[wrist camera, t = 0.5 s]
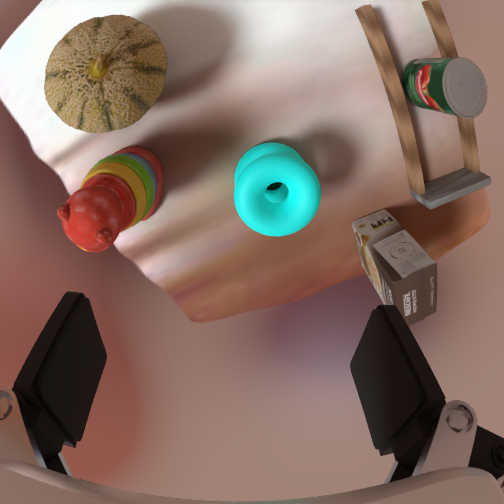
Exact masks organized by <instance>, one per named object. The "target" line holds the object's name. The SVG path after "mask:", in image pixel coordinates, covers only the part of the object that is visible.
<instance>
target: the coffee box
mask: <svg viewBox="0 0 504 504" xmlns="http://www.w3.org/2000/svg"><path fill="white" fill-rule="evenodd" d="M352 227H353V230H354V234H355V238H356V242H357V246H358V251H359V255H360V259H361V264H362V267H363V268H364V270H365V272H366V273H367V275H368V277H369V278H370V280H371V282H372V284H373V285H374V287H375V289H376V290H377V292H378V294H379V296H380V297H381V299H382V300H383V303H384V305H396V307H397V308H398V310H399V311H400V313H401V315H402V317H403V318H404V320H405V322H406V324H407V325H408V326H409V325H412V324H414V323H416V322H419V321H421V320H423V319H424V318H425V317H427V316H429V315H431V314H433V313H435V312H436V300H437V299H436V298H437V263H436V262H435V261H434V260H433V259H432V258H431V257H430V256H429V254H428V253H427V252H426V251H425V250H424V249H423V248H422V247H421V246H420V245H419V244H418V242H417V241H416V240H415V239H414V238H413V237H412V236H411V235H410V234H409V233H408V232H407V231H406V230H405V229H404V228H403V227H402V226H401V225H400V224H399V223H398V222H397V221H396V220H395V219H394V218H393V217H392V216H391V215H390V214H389V213H388V212H387V211H386V210H385V209H383V210H380V211H378V212H375V213H373V214H370V215H368V216H365V217H363V218H360V219H358V220H355V221H353V222H352Z"/></svg>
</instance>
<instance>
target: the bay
mask: <svg viewBox="0 0 504 504" xmlns="http://www.w3.org/2000/svg"><path fill="white" fill-rule="evenodd" d="M421 3H422V5H423V7H424V10H425V12H426V14H427V17H428V20H429V22H430V25H431V27H432V30H433V33H434V36H435V38H436V41H437V44H438V47H439V50H440V53H441V56H442V58H459V57H458V54H457V51H456V48H455V45H454V42H453V39H452V35H451V33H450V30H449V27H448V25H447V21H446V19H445V16H444V14H443V11H442V9H441V6H440V4H439V1H438V0H427V1H424V2H421ZM355 11H356V14H357V16H358V18H359V20H360V23H361V25H362V27H363V30H364V32H365V34H366V37H367V39H368V42H369V44H370V47H371V49H372V52H373V55H374V57H375V60H376V63H377V66H378V68H379V71H380V74H381V77H382V80H383V83H384V86H385V89H386V92H387V95H388V99H389V102H390V105H391V109H392V112H393V116H394V119H395V123H396V127H397V131H398V135H399V139H400V143H401V147H402V151H403V156H404V160H405V165H406V170H407V175H408V180H409V185H410V190H411V195H412V196H413V197H414V198H415V199H417V200H418V201H419V202H421V203H422V204H423V205H425V206H426V207H427V208H428V209H430V210H431V209H434V208H436V207H438V206H441V205H443V204H446V203H448V202H450V201H453V200H455V199H457V198H460V197H462V196H464V195H467V194H469V193H472V192H474V191H476V190H479V189H481V188H483V187H485V186H488V185H490V184H491V177H489V176H487V175H485V174H484V173H482V172H480V168H479V159H478V150H477V142H476V135H475V128H474V122H473V118H471V119H466V118H462V117H460V116H457V120H458V126H459V131H460V137H461V143H462V150H463V157H464V166H465V168H463V169H461V170H458V171H455V172H453V173H450V174H448V175H445V176H442V177H440V178H437V179H434V180H432V181H429V182H427V183H424V180H423V174H422V169H421V163H420V158H419V153H418V148H417V144H416V139H415V135H414V130H413V126H412V122H411V118H410V114H409V110H408V107H407V103H406V100H405V96H404V93H403V89H402V86H401V83H400V80H399V77H398V73H397V70H396V67H395V65H394V62H393V59H392V56H391V53H390V50H389V48H388V45H387V42H386V40H385V37H384V35H383V32H382V30H381V27H380V25H379V23H378V20H377V18H376V16H375V13H374V11H373V9H372V7H371V5H364V6H361V7H360V8H358V9H356V10H355Z"/></svg>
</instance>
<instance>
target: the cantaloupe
mask: <svg viewBox="0 0 504 504" xmlns="http://www.w3.org/2000/svg"><path fill="white" fill-rule="evenodd" d="M166 70H167V57H166V51H165V49H164V47H163V45H162V44H161V41H160V39H159V37H158V36H157V34H156V33H155V32H154V31H153V30H152V29H151V28H150V27H149V26H147V25H144V24H142V23H141V22H139V21H138V20H136V19H134V18H132V17H130V16H125V15H109V16H105V17H94V18H92V19H89V20H87V21H84V22H83V23H80V24H78V25H77V26H75V27H74V28H73V29H71V30H70V31H69V32H68V33H67V34H66V35H65V36H64V37H63V39H62V40H60V41H59V42H58V43H57V45H56V46H55V47H54V49H53V51H52V53H51V55H50V57H49V59H48V63H47V66H46V71H45V73H46V76H45V84H44V90H45V96H46V100H47V102H48V105H49V106H50V108H51V109H52V111H53V112H54V113H56V114H57V115H58V117H59V118H60V119H61V120H62V121H63V122H65V123H66V124H68V125H69V126H71V127H73V128H75V129H79V130H82V131H85V132H89V133H104V132H106V133H107V132H109V131H113V130H119V129H123V128H126V127H128V126H130V125H132V124H133V123H135V122H137V121H138V120H140V119H141V118H142V117H143V115H145V114H146V112H147V111H148V110H149V109H150V108H151V107H152V106H153V104H154V103H155V102H156V100H157V99H158V98H159V96H160V94H161V92H162V90H163V86H164V83H165V75H166Z"/></svg>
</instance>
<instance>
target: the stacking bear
mask: <svg viewBox="0 0 504 504" xmlns="http://www.w3.org/2000/svg"><path fill="white" fill-rule="evenodd" d="M163 186H164V174H163V169H162V166H161V164H160V162H159V160H158V159H157V158H156V157H155V156H154V155H153V154H152V153H151V152H150V151H148V150H146V149H144V148H140V147H127V148H124V149H121V150H119V151H117V152H115V153H114V154H112V155H110V156H108V157H106V158H104V159H102V160H101V161H99V162H98V163H97V164H96V165H95V166H94V167H93V168H92V169H91V170H90V171H89V173H88V174H87V176H86V177H85V179H84V180H83V182H82V184H81V187H80V189H79V190H78V191H76V192H75V193H74V194H73V195H72V196H71V197H70V198H69V199H68V201H67V203H66V205H63V206H61V207H60V208H59V209H58V211H57V214H58V217H59V218H60V219H62V224H63V229H64V231H65V233H66V235H67V236H68V237H69V239H70V240H71V241H72V242H74V243H75V244H76V245H77V246H78V247H80V248H81V249H83V250H85V251H90V252H101V251H104V250H105V249H107V248H109V247H110V246H111V245H112V244H113V242H114V241H115V240H116V238H117V236H118V235H119V233H120V232H122V231H125V230H127V229H129V228H130V227H132V226H134V225H136V224H137V223H139V222H140V221H144V220H147V219H148V218H149V217H150V216H151V215H152V214H153V212H154V211H155V209H156V208H157V206H158V204H159V202H160V199H161V196H162V192H163Z"/></svg>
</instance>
